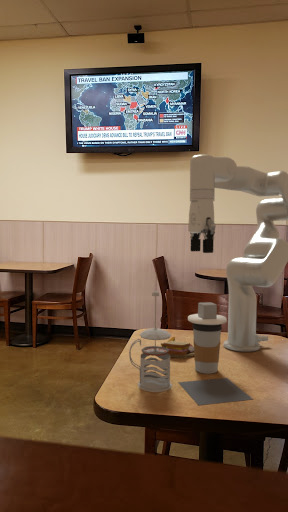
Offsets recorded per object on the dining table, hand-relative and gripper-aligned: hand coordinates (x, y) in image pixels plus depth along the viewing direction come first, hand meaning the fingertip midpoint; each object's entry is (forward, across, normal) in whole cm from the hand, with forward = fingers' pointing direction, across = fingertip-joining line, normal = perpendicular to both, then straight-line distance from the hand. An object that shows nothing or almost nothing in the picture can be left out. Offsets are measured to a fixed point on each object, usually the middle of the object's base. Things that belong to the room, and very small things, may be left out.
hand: (201, 252), depth 119 cm
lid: (+19, +10, -2) cm, 22 cm away
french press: (+34, +17, -21) cm, 43 cm away
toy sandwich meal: (+35, -9, -4) cm, 36 cm away
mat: (+34, +24, -6) cm, 42 cm away
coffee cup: (+34, +10, -2) cm, 36 cm away
